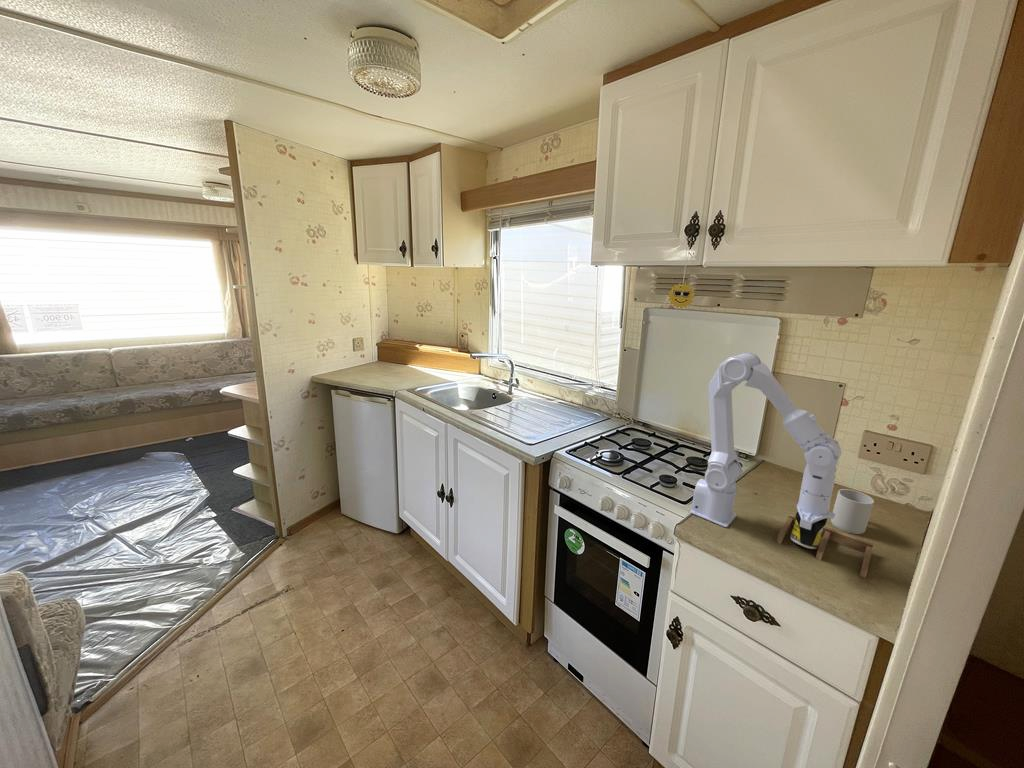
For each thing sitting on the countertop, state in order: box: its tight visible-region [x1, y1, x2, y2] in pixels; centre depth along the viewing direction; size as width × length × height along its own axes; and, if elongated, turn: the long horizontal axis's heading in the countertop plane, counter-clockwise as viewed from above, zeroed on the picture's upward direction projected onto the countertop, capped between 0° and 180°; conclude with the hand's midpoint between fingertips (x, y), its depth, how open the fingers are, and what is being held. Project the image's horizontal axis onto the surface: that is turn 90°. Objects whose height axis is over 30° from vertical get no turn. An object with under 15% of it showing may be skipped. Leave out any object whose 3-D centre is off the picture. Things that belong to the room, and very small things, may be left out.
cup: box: [830, 488, 875, 535], centre depth 109 cm, size 7×10×9 cm
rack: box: [776, 514, 874, 579], centre depth 100 cm, size 17×12×2 cm
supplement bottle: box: [790, 520, 823, 550], centre depth 100 cm, size 5×5×10 cm
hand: (806, 543), depth 98 cm, fingers closed, pressing on supplement bottle
